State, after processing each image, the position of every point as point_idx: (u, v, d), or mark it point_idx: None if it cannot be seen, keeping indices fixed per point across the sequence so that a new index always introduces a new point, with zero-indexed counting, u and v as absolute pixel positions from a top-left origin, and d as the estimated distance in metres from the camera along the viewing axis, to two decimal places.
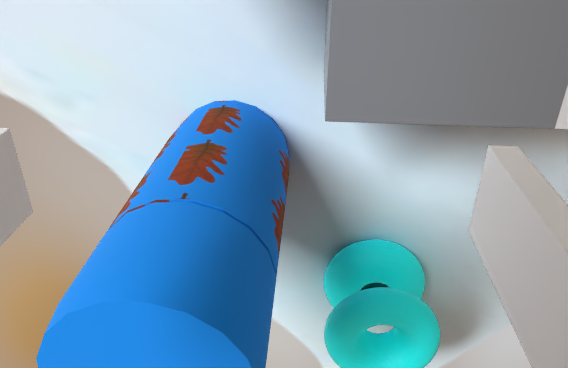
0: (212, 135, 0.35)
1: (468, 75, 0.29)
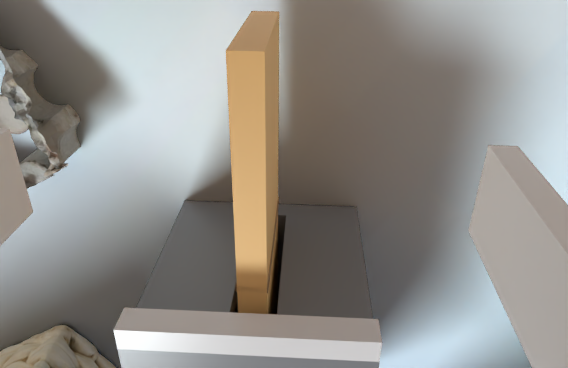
0: None
1: None
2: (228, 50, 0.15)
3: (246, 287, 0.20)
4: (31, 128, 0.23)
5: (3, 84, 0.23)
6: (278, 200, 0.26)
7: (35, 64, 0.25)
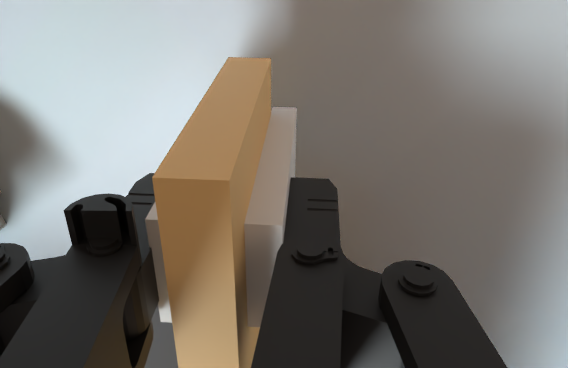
0: None
1: None
2: (157, 175, 0.08)
3: None
4: None
5: None
6: None
7: None
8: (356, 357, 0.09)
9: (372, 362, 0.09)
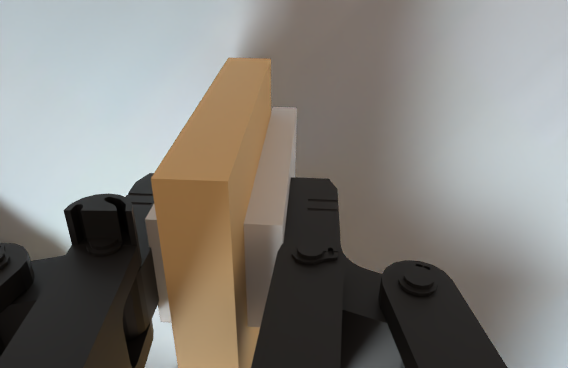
0: None
1: None
2: (156, 176, 0.08)
3: None
4: None
5: None
6: None
7: None
8: (356, 357, 0.09)
9: (372, 362, 0.09)
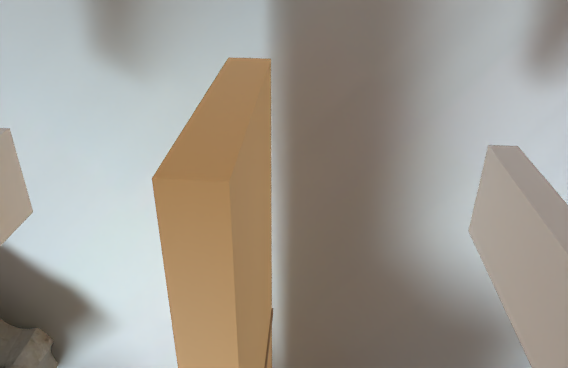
0: None
1: None
2: (157, 176, 0.08)
3: None
4: None
5: None
6: (271, 315, 0.18)
7: None
8: None
9: None
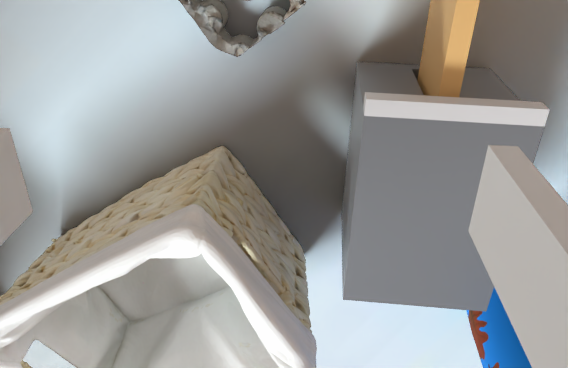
0: (486, 356, 0.41)
1: (465, 209, 0.30)
2: None
3: None
4: None
5: None
6: None
7: None
8: None
9: None
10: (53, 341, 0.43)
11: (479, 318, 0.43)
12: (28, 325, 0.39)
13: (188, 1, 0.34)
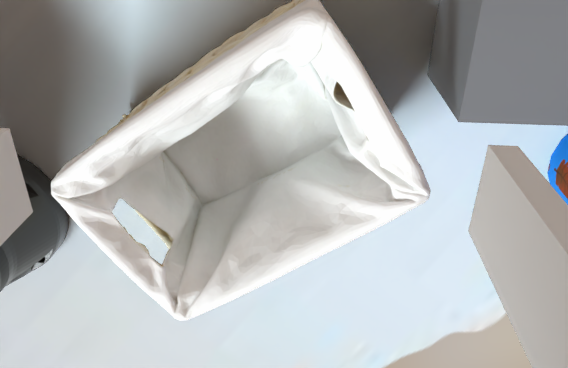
0: None
1: None
2: None
3: None
4: None
5: None
6: None
7: None
8: None
9: None
10: (137, 203, 0.41)
11: None
12: (119, 170, 0.37)
13: None
